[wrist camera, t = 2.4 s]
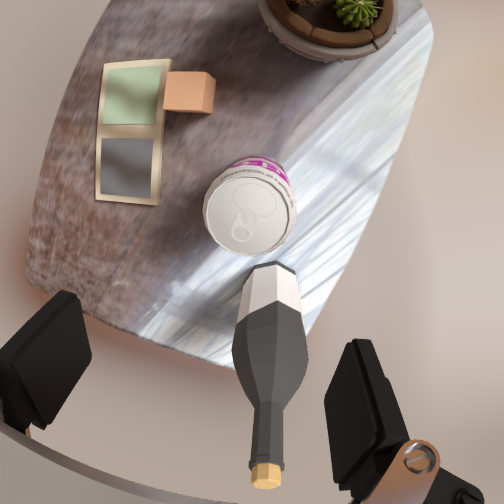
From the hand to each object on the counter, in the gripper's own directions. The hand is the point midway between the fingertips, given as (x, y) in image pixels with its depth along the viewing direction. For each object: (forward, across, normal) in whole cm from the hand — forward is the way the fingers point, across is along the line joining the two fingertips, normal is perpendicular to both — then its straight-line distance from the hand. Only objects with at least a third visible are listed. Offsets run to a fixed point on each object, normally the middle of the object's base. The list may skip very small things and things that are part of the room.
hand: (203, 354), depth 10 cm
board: (+31, +18, -6) cm, 37 cm away
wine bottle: (+32, -4, +14) cm, 35 cm away
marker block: (+32, +9, -11) cm, 35 cm away
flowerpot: (+32, -5, -23) cm, 39 cm away
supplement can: (+32, 0, 0) cm, 32 cm away
